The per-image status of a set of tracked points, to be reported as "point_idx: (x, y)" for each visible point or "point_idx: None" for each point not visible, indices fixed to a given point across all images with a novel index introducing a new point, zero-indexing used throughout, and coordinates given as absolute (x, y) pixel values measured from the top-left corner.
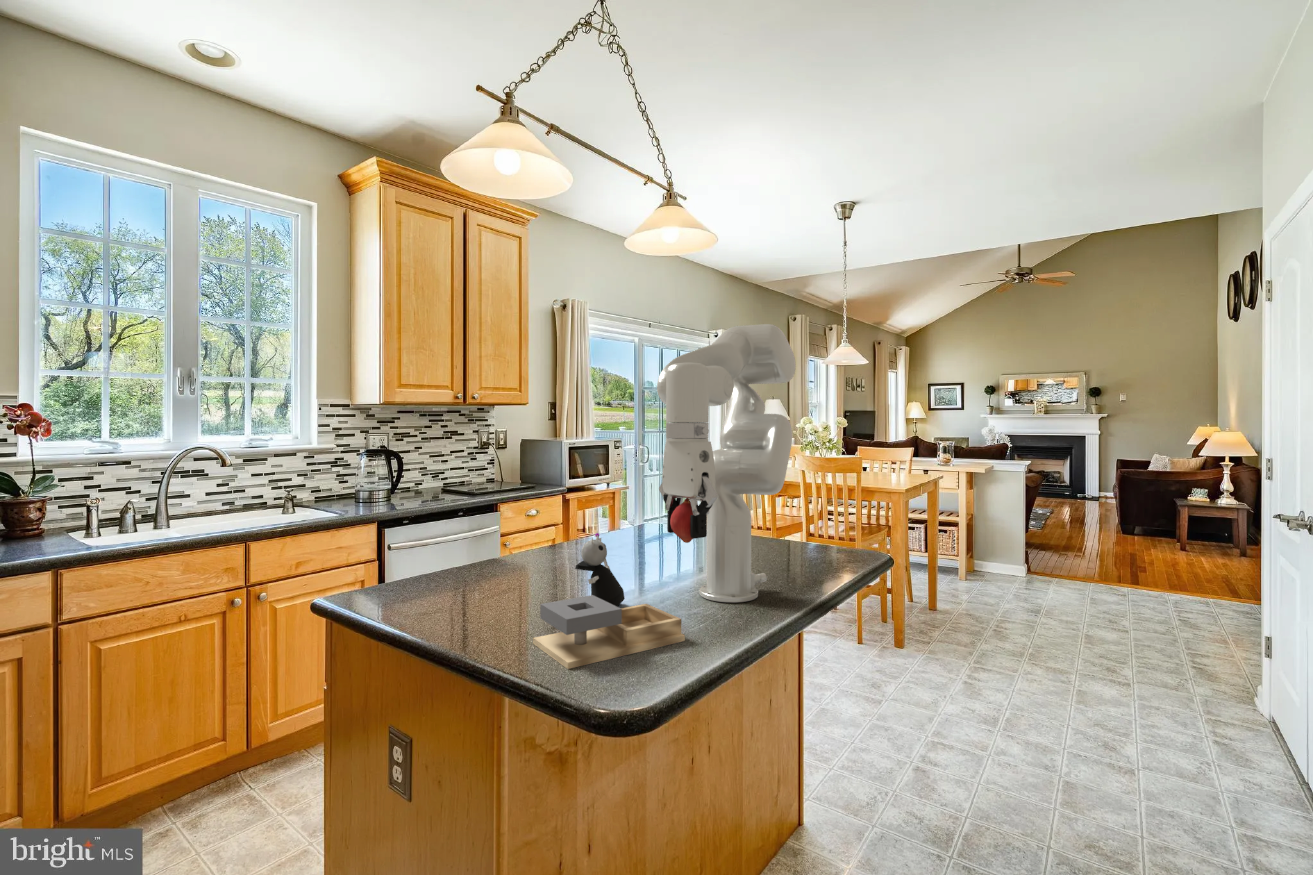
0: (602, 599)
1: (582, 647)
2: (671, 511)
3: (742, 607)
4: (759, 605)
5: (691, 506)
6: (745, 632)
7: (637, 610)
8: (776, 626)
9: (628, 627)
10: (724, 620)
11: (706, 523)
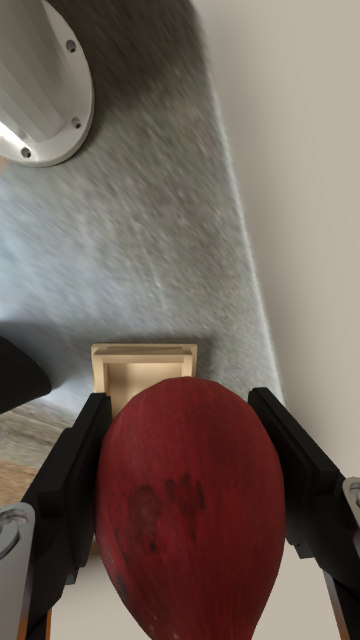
0: (31, 398)
1: None
2: (73, 562)
3: (118, 144)
4: (126, 98)
5: (269, 594)
6: (222, 251)
7: (105, 373)
8: (233, 185)
9: (128, 389)
10: (160, 236)
11: (297, 424)
